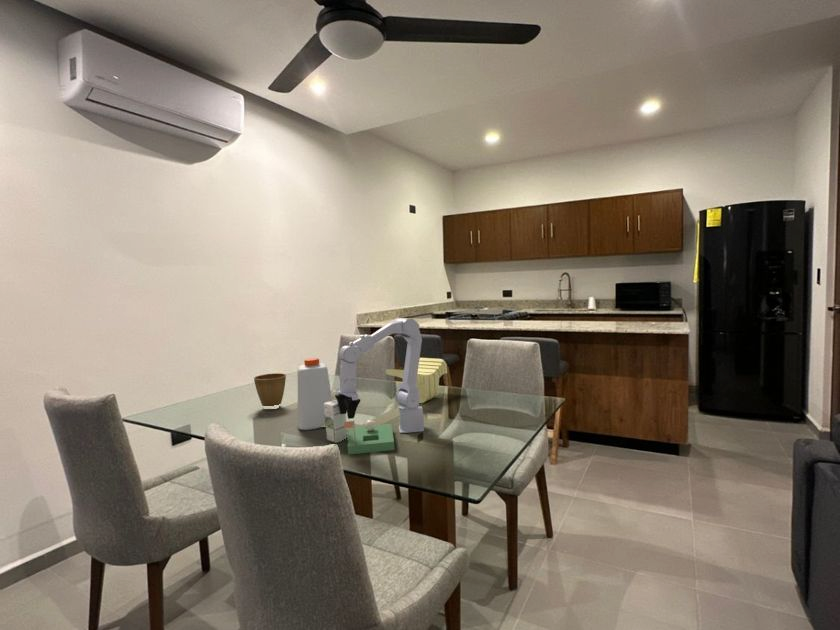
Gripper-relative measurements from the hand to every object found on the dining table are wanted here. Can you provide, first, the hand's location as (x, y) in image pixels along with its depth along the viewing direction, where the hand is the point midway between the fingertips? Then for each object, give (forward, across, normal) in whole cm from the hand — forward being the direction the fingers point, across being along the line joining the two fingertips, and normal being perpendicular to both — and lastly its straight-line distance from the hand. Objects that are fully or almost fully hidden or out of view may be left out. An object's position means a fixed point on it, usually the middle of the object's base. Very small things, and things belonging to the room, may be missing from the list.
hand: (347, 416), depth 162 cm
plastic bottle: (+11, -32, 0) cm, 34 cm away
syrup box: (+11, -8, -1) cm, 13 cm away
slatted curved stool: (+6, -35, +53) cm, 64 cm away
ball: (+5, 0, +10) cm, 11 cm away
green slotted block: (+10, +3, +8) cm, 13 cm away
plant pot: (+12, -72, -9) cm, 74 cm away
